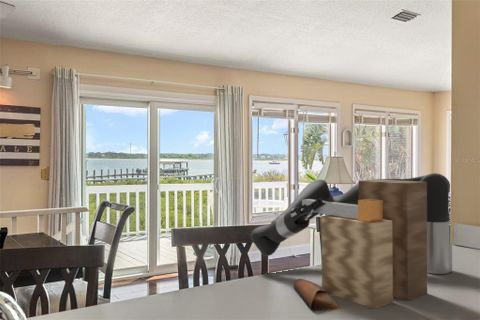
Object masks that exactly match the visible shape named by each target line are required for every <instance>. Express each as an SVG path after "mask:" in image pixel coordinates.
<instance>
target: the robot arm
mask: <svg viewBox="0 0 480 320" xmlns="http://www.w3.org/2000/svg"><path fill="white" fill-rule="evenodd" d="M375 180H398V181H420V182H427V274H435V275H445V274H446V275H447V274H449V273H453V244H452V243H450V211H449V210H450V209H449V208H450V207H449V192H450V191H451V190H450V189H451V182H450V180H449V179H448V178H447V177H446V176H445V175H443V174H441V173H437V172H436V173H435V172H433V173H430V174H426V175H422V176H415V177H410V178H409V177H408V178H379V179H376V178H375ZM304 199H314V200H316V201H314V202H313V203H309V204H308V205H306V204H304V205H303V206H302V200H304ZM358 200H359V182H357V183H356V184H355V185H354V186H353V187H351V188H350V189H349V190H348V191H345V192H344V193H342V194H338V195H332V193H331V190H330V187H329V185H328V183H327V181H325V180H323V179H315V180H313V181H310V183H308V184H307V185H305V187H304V188H303V189H302V190H301V192H299V194H298V195H297V196H296V198H294V200H293V201H292V203H290V205H289V206H288V207H287V208H286V209H285V210H283V212H282V213H280V214H279V216H278V215H277V216H276V217H275V218H274V219H273V220H272V221H271V222H270V224H266V225H261V226H257V227H256V228H255V229H253V230H252V231H251V233H250V239H251V241H252V243H253V244H254V245H255V247H256V248H257V249H258V250H259V252H260V253H261V254H262V255H263V256H265V257H270V256H272V255H273V254H275V252H276V251H277V250H278V249H279V246H280V245H281V243H282V242H285V241H286V240H287V239H289V238H291V237H293V236H296V235H297V234H298V233H300V232H303V230H305V229H307V228H308V227H309V225H310V221H311V220H314V219H315V218H316V217H318V216H319V217H322V216H324V214H320V213H313V211H315V210H316V209H318V208H319V207H321V206H322V205H323V201H330V202H338V203H346V204H354V205H358Z"/></svg>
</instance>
